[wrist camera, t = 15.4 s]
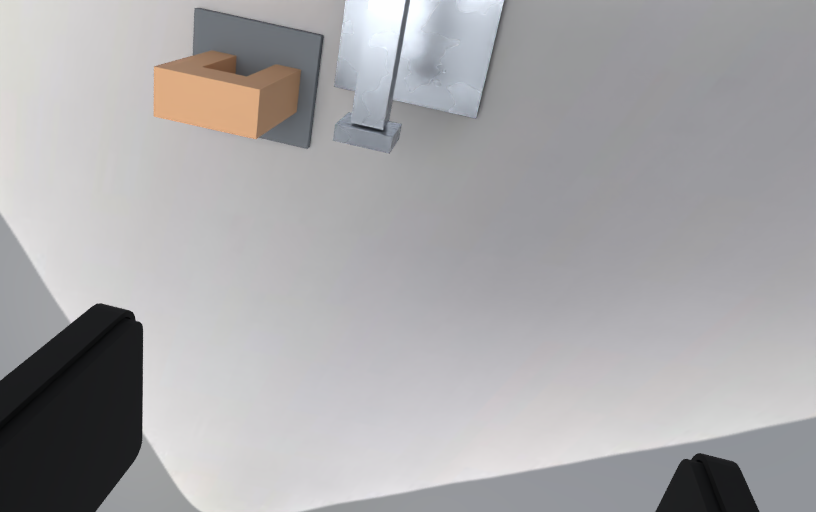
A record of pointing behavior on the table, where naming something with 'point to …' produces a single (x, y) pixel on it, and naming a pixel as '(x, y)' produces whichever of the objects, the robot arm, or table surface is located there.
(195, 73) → the c link
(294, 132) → the mat
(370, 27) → the stand
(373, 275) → the table surface
